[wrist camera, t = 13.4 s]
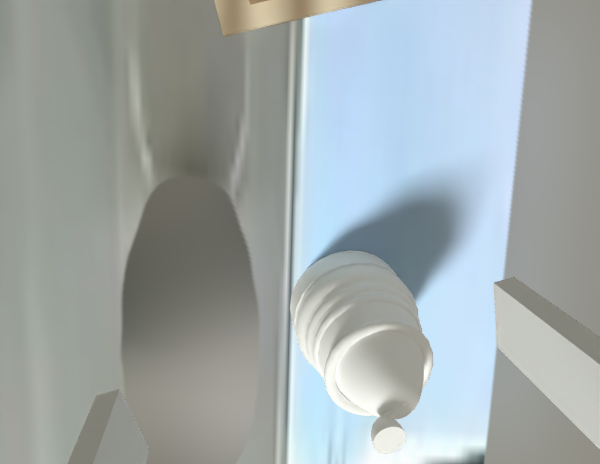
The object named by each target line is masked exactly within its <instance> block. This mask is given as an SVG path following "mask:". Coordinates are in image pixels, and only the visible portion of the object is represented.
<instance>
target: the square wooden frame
mask: <svg viewBox="0 0 600 464" xmlns="http://www.w3.org/2000/svg"><path fill="white" fill-rule="evenodd" d="M376 1H380V0H214V2H215V6H216V10H217V13H218V17H219V21H220V25H221V29H222V33H223V36H229V35H233V34H237V33H242V32H246V31H250V30H255V29H259V28H263V27H268V26H272V25H276V24H281V23H285V22H289V21H294V20H298V19H302V18H307V17H311V16H315V15H320V14H324V13H328V12H333V11H337V10H341V9H346V8H350V7H354V6H359V5H363V4H367V3H372V2H376Z"/></svg>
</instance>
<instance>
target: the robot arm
mask: <svg viewBox="0 0 600 464" xmlns="http://www.w3.org/2000/svg"><path fill="white" fill-rule="evenodd" d="M494 300H495V320H496V339H497V347H498V348H499V349H500V350H501V351H502V352H503V353H504V354H505V355H506V356H507V357H508V358H509V359H510V360H511V361H512V362H513V363H514V364H515V365H516V366H517V367H518V368H519V369H520V370H521V371H522V372H523V373H524V374H525V375H526V376H527V377H528V378H529V379H530V380H531V381H532V382H533V383H534V384H535V385H536V386H537V387H538V388H539V389H540V390H541V391H542V392H543V393H544V394H545V395H546V396H547V397H548V398H549V399H550V400H551V401H552V402H553V403H554V404H555V405H556V406H557V407H558V408H559V409H560V410H561V411H562V412H563V413H564V414H565V415H566V416H567V417H568V418H569V419H570V420H571V421H572V422H573V423H574V424H575V425H576V426H577V427H578V428H579V429H580V430H581V431H582V432H583V433H584V434H585V435H586V436H587V437H588V438H589V439H590V440H591V441H592V442H593V443H594V444H595V445H596V446H597V447H598V448H599V449H600V336H598V335H597V334H595V333H594V332H592V331H591V330H589V329H588V328H587V327H585V326H584V325H582V324H581V323H579V322H578V321H577V320H575V319H574V318H572V317H571V316H569V315H568V314H567V313H565V312H564V311H562V310H561V309H559V308H558V307H556V306H555V305H554V304H552V303H551V302H549V301H548V300H546V299H545V298H543V297H542V296H541V295H539V294H538V293H536V292H535V291H533V290H532V289H530V288H529V287H528V286H526V285H525V284H523V283H522V282H521V281H519V280H518V279H516V278H515V277H513V278H509V279H505V280H502V281H498V282H495V283H494ZM148 452H149V448H148V446H147V444H146V442H145V440H144V438H143V436H142V434H141V432H140V430H139V428H138V426H137V424H136V422H135V420H134V417H133V415H132V413H131V411H130V409H129V407H128V405H127V403H126V401H125V399H124V397H123V395H122V393H121V391H120V389H119V390H115V391H112V392H108V393H105V394H101V395H98V396H96V398H95V400H94V403H93V405H92V407H91V410H90V412H89V414H88V417H87V419H86V421H85V424H84V426H83V429H82V431H81V433H80V436H79V438H78V440H77V443H76V445H75V447H74V450H73V452H72V455H71V457H70V459H69V462H68V464H146V461H147V456H148Z"/></svg>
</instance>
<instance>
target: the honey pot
mask: <svg viewBox="0 0 600 464" xmlns="http://www.w3.org/2000/svg"><path fill="white" fill-rule="evenodd" d="M290 310H291V316H292V321H293V325H294V329H295V333H296V337H297V340H298V345H299V347H300V349H301V351H302V353H303V355H304V357H305V358H306V360H307V361H308V362H309V363H310V364H311V365H312V366H313V367H314V368H315V369H316V370H318V371H319V373H320V375H321V376H322V377H323V378H324V381H325V387H326V389H327V391H328V393H329V395H330V397H331V399H332V400H333V401H334V402H335V403H336V404H337V405H338V406H339V407H341V408H343V409H345V410H347V411H349V412H350V413H354V414H358V415H363V416H375V415H376V416H378V419H377V420H376V421H375V422H374V424H373V426H372V430H371V438H372V443H373V446H374V448H375V450H376V451H378V452H380V453H384V454H388V453H392V452H395V451H397V450H398V449H400V448H401V447H402V446H403V445H404V443H405V441H406V433H405V431H404V430H403V428H402V427H401V425H400V424H399V423H398V422H397V421H395V420H394V419H400V418H403V417H405V416H407V415H409V414H410V413H411V412H412V411H413V410H414V409H415V407H416V405H417V403H418V402H419V399H420V396H421V392H422V390H423V388H424V387H425V385H426V383H427V381H428V380H429V378H430V374H431V370H432V367H433V352H432V349H431V347H430V344H429V341H428V340H427V338H426V337H425V336H424V335H423V333H422V328H421V325H420V322H419V318H418V309H417V306H416V303H415V300H414V298H413V295H412V293H411V292H410V291H409V289H408V288H407V287H406V285H405V284H404V283H403V282H402V281H401V279H400V278H399V277H398V276H397V275H396V273H395V272H394V271H393V270H392V269H391V268H390V266H389V265H388V264H387V263H386V262H384V261H383V260H381V259H380V258H379V257H377V256H375V255H372V254H369V253H366V252H364V251H351V250H347V251H342V252H337V253H332V254H330V255H328V256H326V257H323V258H321V259H319V260H318V261H316V262H315V263H314V264H313V265H311V266H310V267H309V268H307V269H306V271H305V272H304V273H303V274H302V276H301V277H300V278H299V279H298V281H297V283H296V285H295V288H294V290H293V292H292V296H291V303H290Z"/></svg>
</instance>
